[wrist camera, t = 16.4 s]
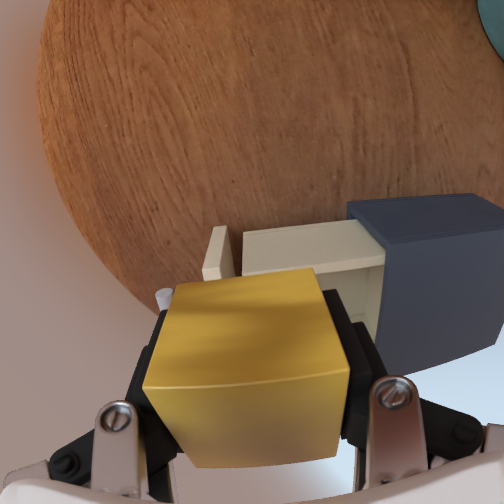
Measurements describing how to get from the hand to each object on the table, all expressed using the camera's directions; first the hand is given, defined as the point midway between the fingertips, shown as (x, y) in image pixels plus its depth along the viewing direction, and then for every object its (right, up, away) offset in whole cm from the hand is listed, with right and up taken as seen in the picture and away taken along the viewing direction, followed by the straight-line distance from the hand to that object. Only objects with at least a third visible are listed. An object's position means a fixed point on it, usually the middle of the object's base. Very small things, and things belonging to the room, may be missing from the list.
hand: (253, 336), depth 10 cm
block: (0, 0, 0) cm, 0 cm away
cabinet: (+17, +2, +19) cm, 25 cm away
